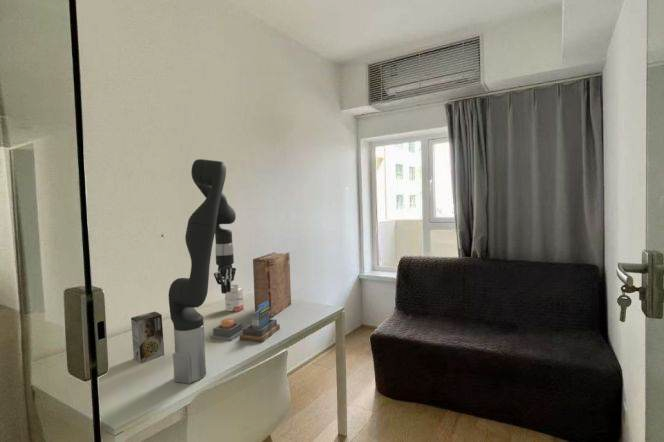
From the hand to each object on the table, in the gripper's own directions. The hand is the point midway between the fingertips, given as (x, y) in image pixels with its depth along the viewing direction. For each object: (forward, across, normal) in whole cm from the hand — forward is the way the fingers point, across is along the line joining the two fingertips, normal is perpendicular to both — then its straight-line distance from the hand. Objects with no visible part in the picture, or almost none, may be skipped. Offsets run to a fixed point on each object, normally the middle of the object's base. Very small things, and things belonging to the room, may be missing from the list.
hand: (226, 292), depth 153 cm
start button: (+16, 0, 0) cm, 16 cm away
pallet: (+19, +4, -14) cm, 24 cm away
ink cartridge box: (+19, +33, +18) cm, 42 cm away
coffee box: (+19, -27, +17) cm, 37 cm away
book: (+19, +37, -4) cm, 42 cm away
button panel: (+19, 0, 0) cm, 19 cm away
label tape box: (+17, +4, -14) cm, 23 cm away
